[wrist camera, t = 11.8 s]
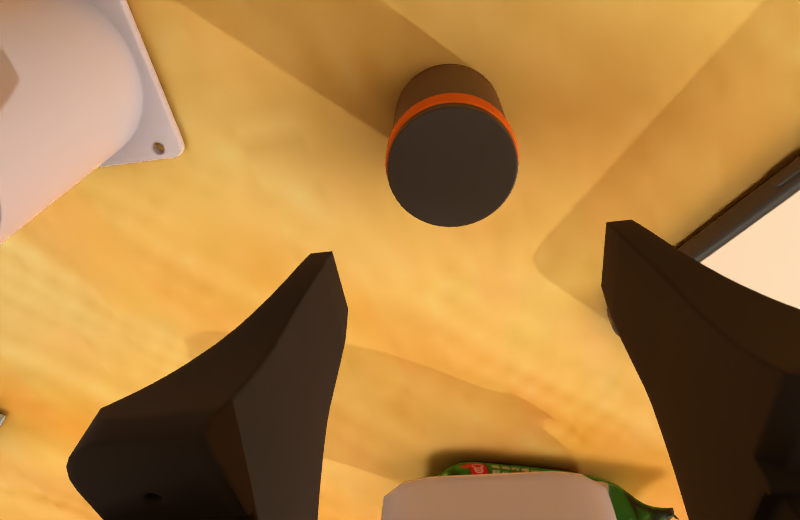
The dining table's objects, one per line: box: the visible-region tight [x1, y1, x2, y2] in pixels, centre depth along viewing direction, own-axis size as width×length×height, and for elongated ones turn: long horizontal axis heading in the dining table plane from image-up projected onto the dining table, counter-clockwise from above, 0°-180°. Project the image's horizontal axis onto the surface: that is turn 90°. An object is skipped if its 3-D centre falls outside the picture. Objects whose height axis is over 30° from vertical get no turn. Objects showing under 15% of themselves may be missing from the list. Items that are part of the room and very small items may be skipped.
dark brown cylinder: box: [385, 64, 519, 227], centre depth 19 cm, size 4×4×5 cm
